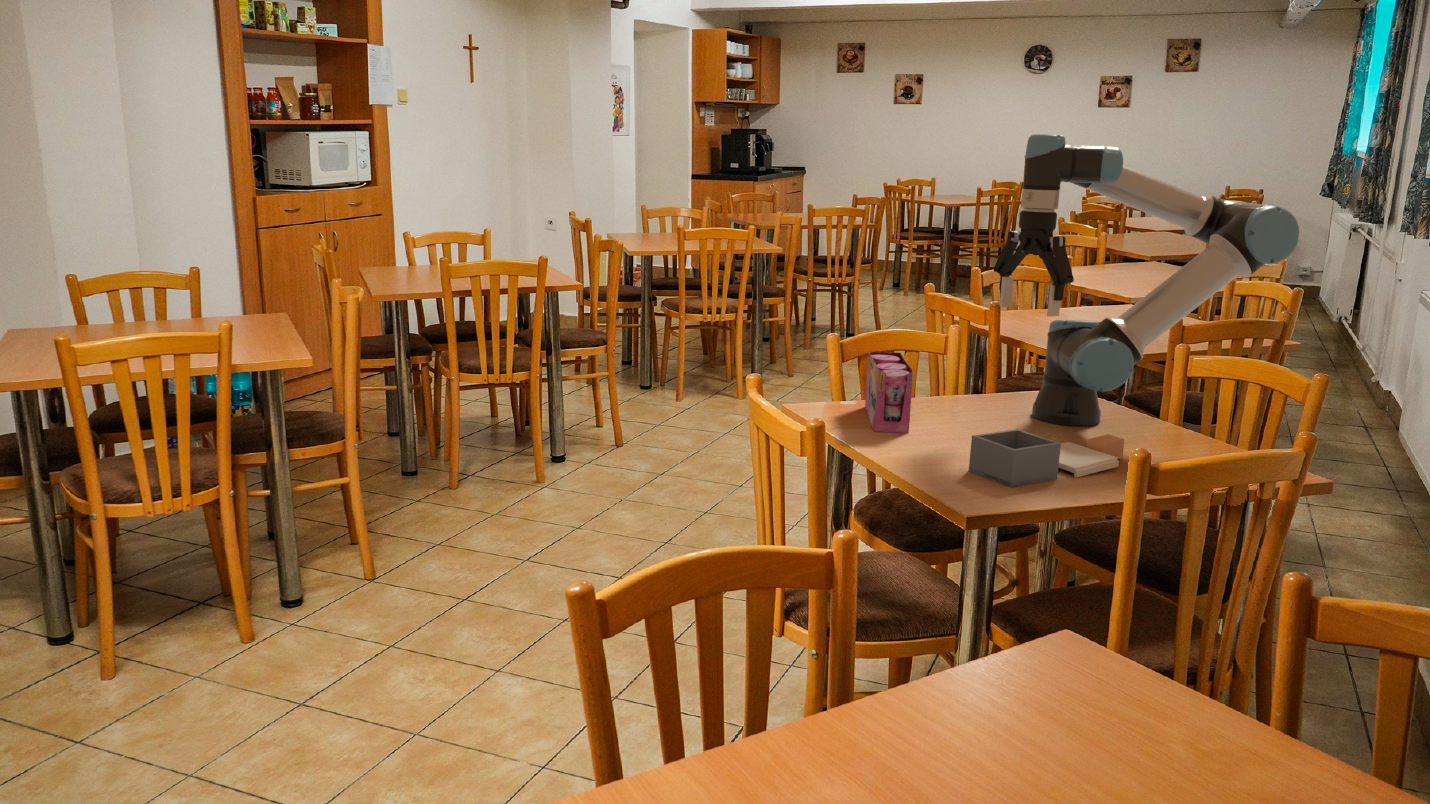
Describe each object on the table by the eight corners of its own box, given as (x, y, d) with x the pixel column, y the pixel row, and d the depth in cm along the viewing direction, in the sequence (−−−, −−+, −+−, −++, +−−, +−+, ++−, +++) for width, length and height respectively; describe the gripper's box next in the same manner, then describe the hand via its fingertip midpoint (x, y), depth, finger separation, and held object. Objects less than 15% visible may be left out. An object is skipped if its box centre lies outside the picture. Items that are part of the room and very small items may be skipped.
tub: (1013, 463, 209) (1017, 429, 207) (1057, 478, 199) (1061, 443, 198) (968, 470, 203) (971, 435, 201) (1010, 487, 193) (1014, 450, 192)
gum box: (910, 435, 227) (915, 373, 224) (873, 433, 227) (878, 372, 224) (897, 408, 250) (901, 352, 247) (863, 407, 250) (867, 350, 247)
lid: (1089, 447, 220) (1090, 428, 219) (1141, 463, 209) (1143, 444, 208) (1025, 463, 212) (1026, 444, 211) (1076, 481, 201) (1077, 461, 200)
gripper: (982, 206, 229) (974, 303, 235) (1073, 214, 209) (1061, 321, 214) (1008, 206, 233) (998, 301, 238) (1099, 214, 212) (1087, 319, 217)
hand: (1028, 311), depth 226 cm, fingers open, 13 cm apart
